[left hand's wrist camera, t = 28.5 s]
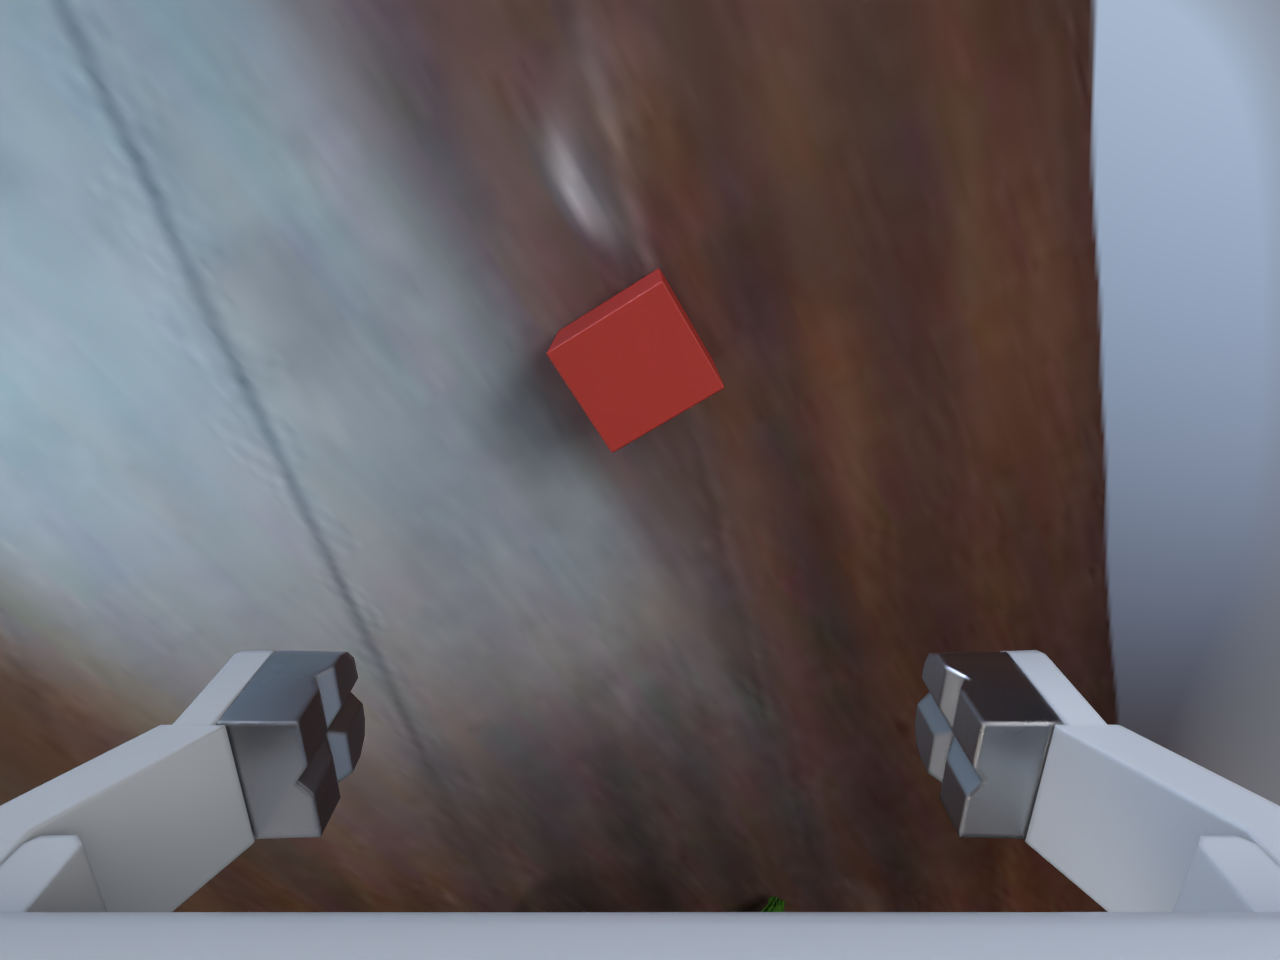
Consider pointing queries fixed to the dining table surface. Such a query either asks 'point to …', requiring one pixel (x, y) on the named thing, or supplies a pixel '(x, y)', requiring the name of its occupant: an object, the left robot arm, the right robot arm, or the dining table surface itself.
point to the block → (635, 361)
